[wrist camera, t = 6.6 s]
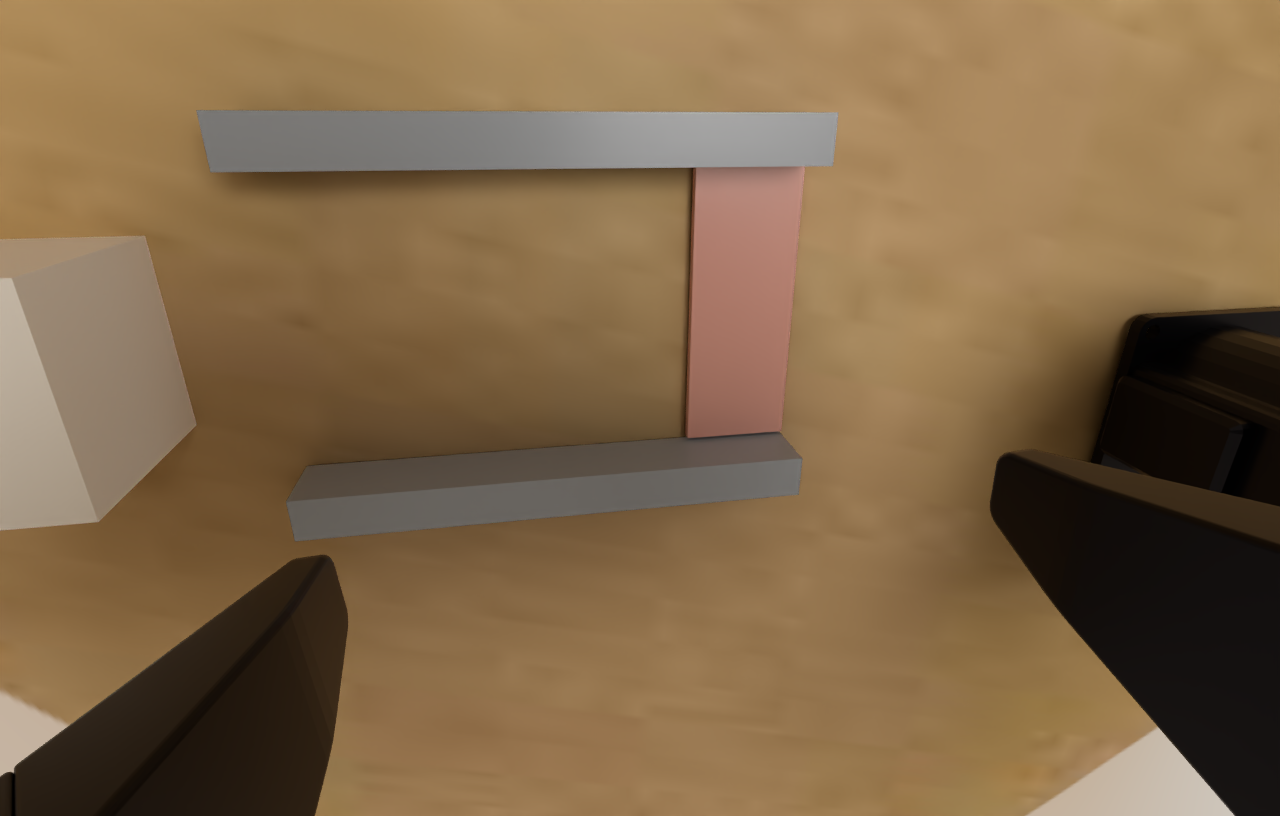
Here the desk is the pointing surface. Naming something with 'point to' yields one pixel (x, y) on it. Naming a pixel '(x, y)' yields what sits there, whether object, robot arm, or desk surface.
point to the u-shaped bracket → (718, 305)
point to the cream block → (82, 378)
